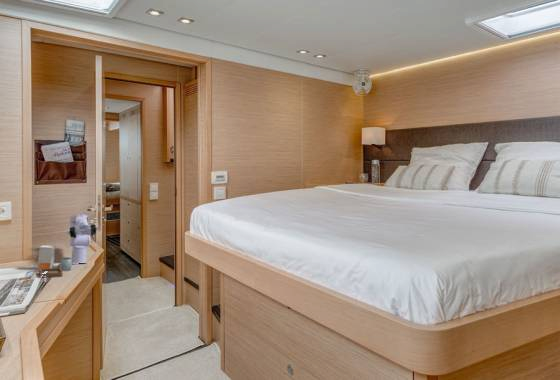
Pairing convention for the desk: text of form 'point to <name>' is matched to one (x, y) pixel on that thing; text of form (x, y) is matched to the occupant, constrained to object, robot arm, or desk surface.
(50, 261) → the skincare box
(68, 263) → the cup
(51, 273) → the tray
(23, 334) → the desk surface
